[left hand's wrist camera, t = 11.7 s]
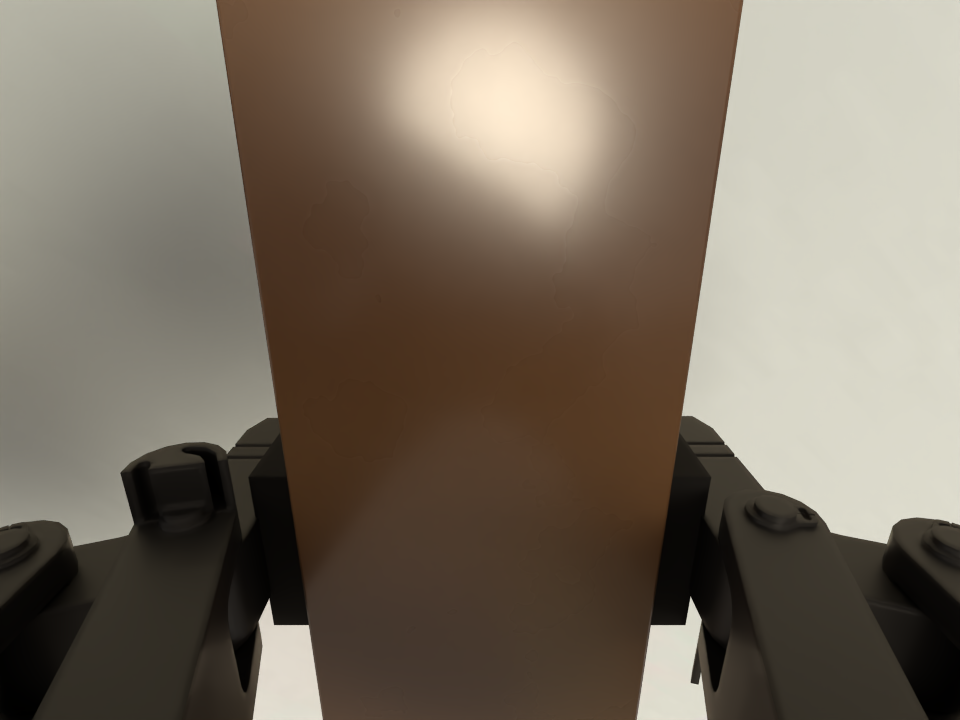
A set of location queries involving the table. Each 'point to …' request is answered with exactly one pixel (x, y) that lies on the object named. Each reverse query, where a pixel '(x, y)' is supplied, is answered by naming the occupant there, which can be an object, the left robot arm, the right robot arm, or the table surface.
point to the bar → (479, 329)
